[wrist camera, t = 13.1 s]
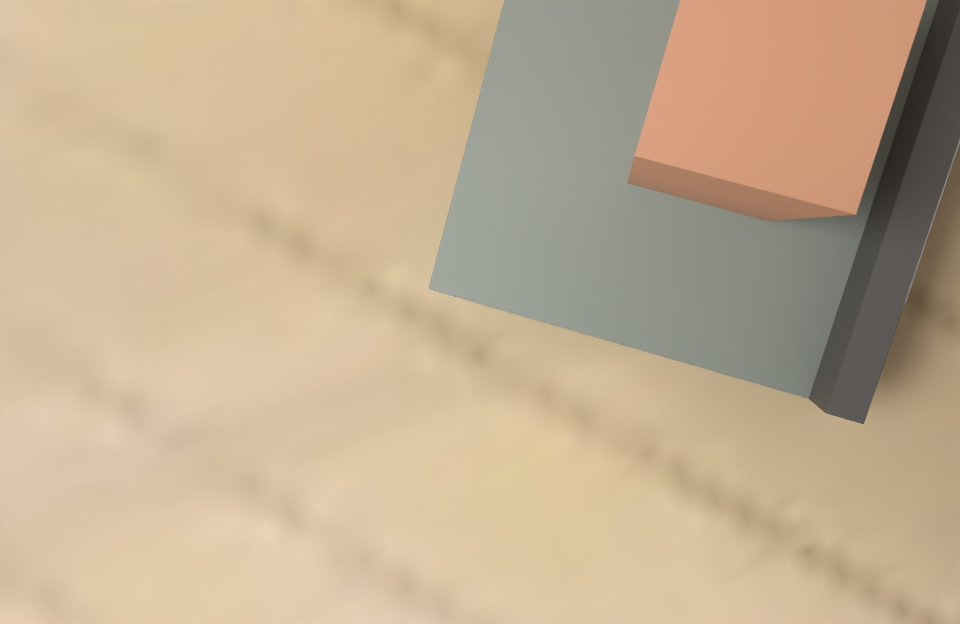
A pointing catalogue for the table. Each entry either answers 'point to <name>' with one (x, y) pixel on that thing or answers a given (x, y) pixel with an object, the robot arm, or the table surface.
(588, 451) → the table surface
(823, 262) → the display shelf
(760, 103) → the tea box
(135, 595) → the table surface
